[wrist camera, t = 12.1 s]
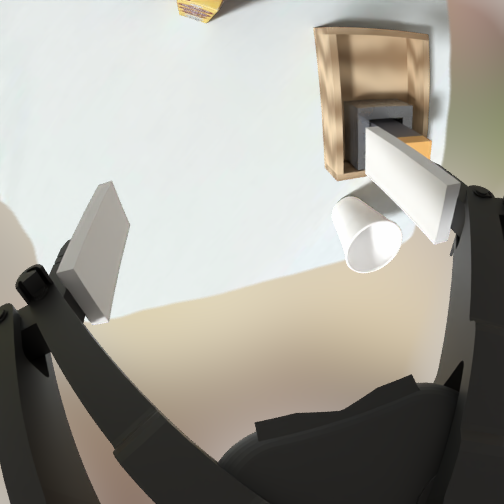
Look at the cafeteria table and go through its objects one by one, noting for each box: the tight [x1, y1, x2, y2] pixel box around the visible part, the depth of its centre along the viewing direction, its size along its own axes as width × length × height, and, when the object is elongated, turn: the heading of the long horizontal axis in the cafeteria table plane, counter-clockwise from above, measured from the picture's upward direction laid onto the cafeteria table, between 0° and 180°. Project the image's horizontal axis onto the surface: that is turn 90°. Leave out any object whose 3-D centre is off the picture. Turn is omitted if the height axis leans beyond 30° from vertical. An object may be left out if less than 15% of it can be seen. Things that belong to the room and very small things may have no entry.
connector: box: [369, 118, 432, 160], centre depth 38 cm, size 4×4×12 cm
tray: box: [314, 27, 430, 181], centre depth 39 cm, size 22×16×5 cm
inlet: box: [344, 99, 413, 170], centre depth 42 cm, size 9×9×4 cm
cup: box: [332, 196, 402, 273], centre depth 49 cm, size 10×10×11 cm
